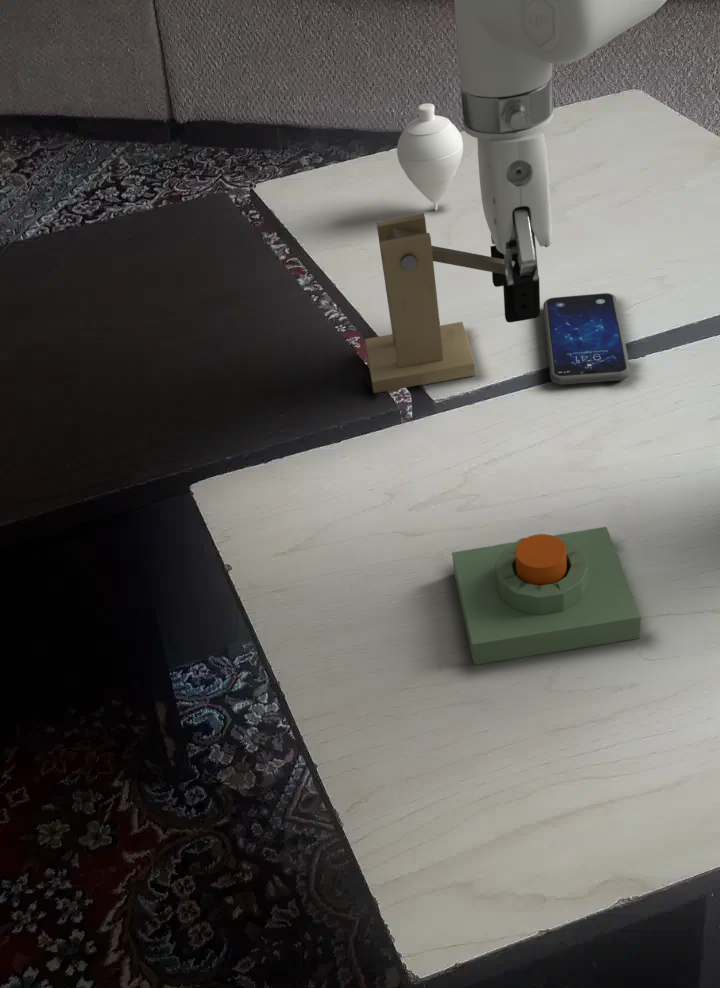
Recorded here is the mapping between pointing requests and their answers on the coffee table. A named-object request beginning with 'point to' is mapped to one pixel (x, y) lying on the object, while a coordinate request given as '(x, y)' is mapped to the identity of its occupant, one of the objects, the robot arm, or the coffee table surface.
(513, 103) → the robot arm
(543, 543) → the button
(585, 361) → the smartphone
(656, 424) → the coffee table surface
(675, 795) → the coffee table surface
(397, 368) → the lever bracket
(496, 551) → the control block
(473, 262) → the press lever
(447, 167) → the spinning top
